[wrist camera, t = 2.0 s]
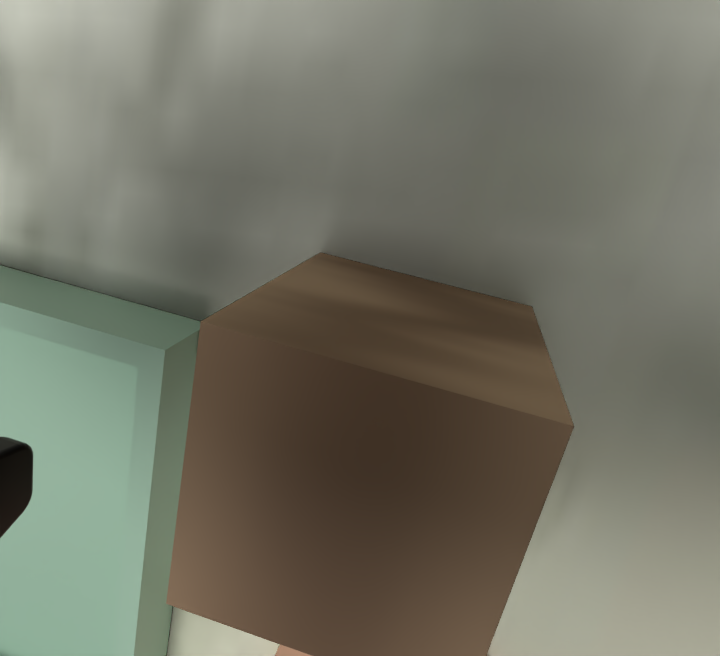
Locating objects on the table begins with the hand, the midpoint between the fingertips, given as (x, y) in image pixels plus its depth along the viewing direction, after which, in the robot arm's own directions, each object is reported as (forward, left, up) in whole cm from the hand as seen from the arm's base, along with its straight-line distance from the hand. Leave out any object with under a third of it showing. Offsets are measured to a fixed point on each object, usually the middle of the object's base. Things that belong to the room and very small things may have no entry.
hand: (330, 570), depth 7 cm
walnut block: (0, 0, -7) cm, 7 cm away
